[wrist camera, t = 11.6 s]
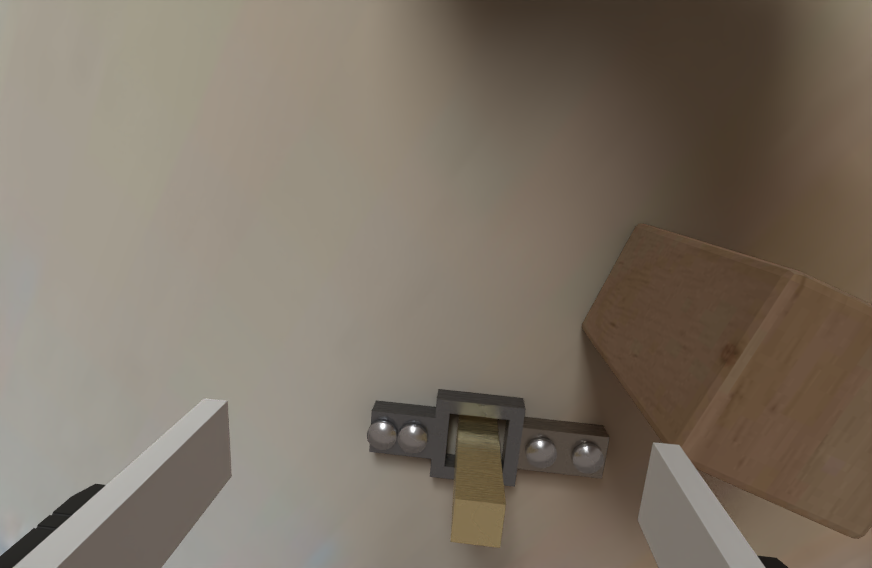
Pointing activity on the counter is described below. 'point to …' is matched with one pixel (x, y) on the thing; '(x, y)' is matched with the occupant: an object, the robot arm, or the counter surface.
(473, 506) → the pin
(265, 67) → the counter surface
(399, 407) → the ball-studded metal bracket
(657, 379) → the wooden block
